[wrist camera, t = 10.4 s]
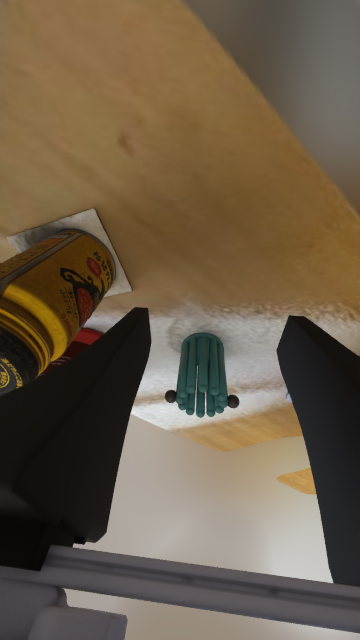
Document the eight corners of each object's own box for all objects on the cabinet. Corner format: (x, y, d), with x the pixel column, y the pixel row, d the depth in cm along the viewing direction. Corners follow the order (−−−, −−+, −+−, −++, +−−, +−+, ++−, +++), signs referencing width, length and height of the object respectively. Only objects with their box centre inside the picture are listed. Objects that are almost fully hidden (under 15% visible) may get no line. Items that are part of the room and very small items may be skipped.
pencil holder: (235, 334, 23) (229, 364, 26) (172, 330, 23) (173, 360, 26) (244, 391, 17) (235, 422, 20) (162, 385, 18) (165, 416, 21)
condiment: (133, 290, 21) (71, 405, 11) (58, 306, 23) (-48, 416, 13) (95, 207, 17) (-53, 276, 7) (9, 236, 19) (-198, 321, 9)
